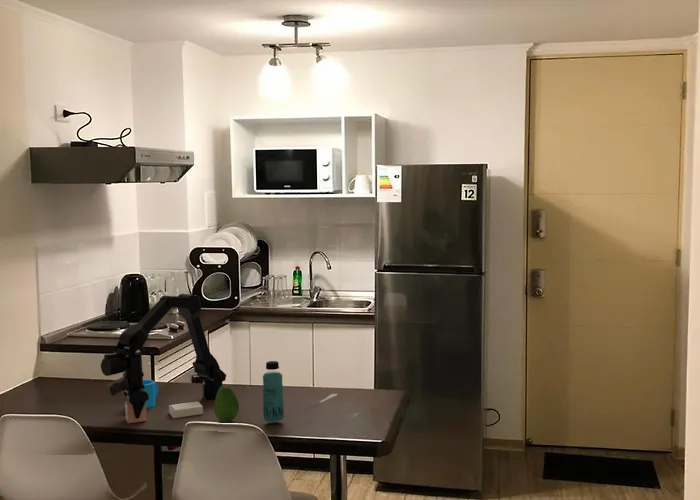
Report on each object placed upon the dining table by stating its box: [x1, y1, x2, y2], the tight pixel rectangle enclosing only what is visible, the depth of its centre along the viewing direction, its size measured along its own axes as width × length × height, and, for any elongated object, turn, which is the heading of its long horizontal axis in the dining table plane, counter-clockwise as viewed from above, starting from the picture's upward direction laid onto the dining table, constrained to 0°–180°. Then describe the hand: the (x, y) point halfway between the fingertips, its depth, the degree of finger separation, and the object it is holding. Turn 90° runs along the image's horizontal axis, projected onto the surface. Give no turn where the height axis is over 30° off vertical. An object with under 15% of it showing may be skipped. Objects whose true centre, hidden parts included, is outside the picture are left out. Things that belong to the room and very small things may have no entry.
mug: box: [143, 379, 160, 409], centre depth 281 cm, size 12×8×8 cm
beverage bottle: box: [262, 360, 285, 423], centre depth 254 cm, size 6×7×20 cm
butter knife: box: [319, 393, 338, 403], centre depth 277 cm, size 1×24×3 cm
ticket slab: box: [168, 401, 204, 419], centre depth 269 cm, size 10×7×3 cm
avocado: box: [213, 384, 240, 423], centre depth 258 cm, size 8×8×12 cm
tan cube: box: [124, 400, 148, 424], centre depth 262 cm, size 6×5×6 cm
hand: (136, 416), depth 263 cm, fingers closed on tan cube, 5 cm apart
